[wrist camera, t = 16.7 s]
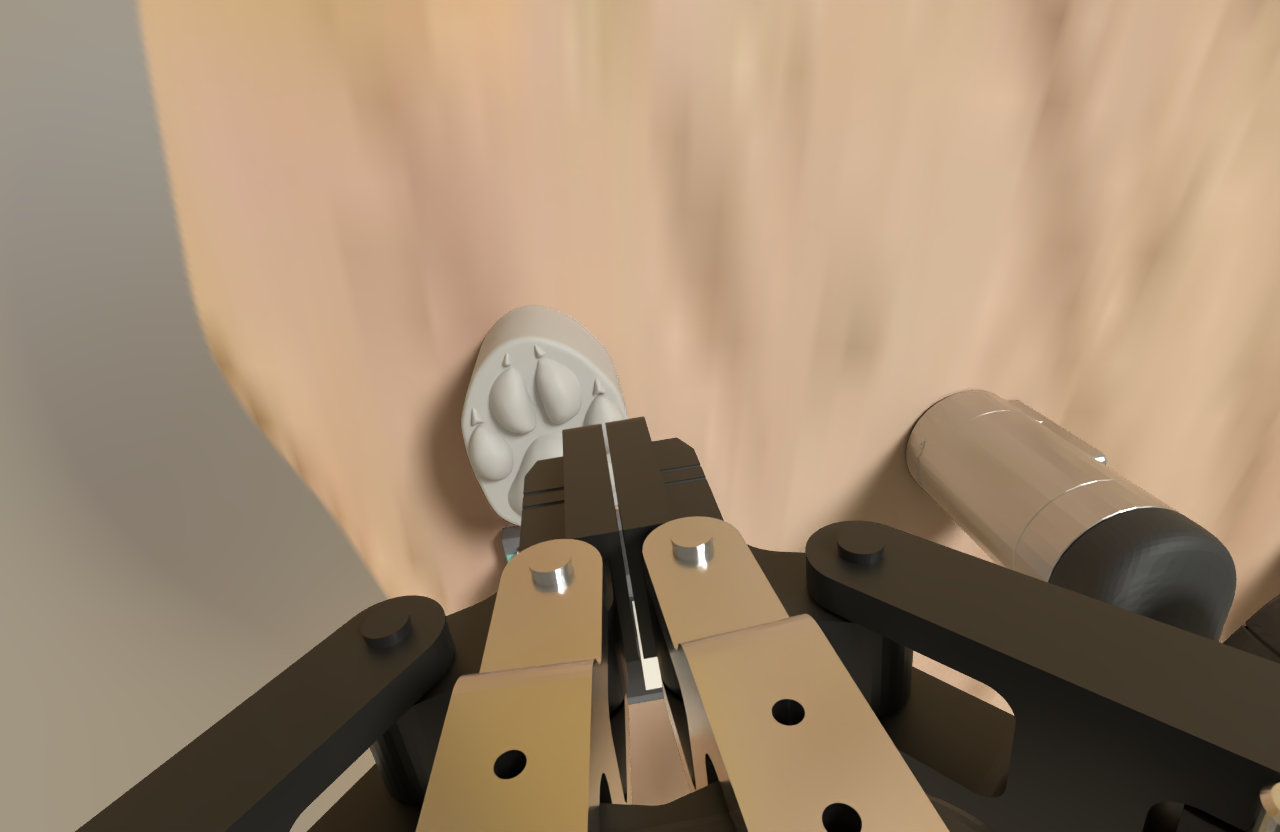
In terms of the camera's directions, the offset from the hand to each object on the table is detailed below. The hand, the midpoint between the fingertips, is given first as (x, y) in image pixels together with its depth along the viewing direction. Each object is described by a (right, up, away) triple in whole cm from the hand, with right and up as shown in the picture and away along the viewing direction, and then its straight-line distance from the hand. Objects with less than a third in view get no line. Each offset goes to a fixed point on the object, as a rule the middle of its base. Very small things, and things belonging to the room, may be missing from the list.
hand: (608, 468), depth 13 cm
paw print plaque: (-6, +3, +37) cm, 38 cm away
